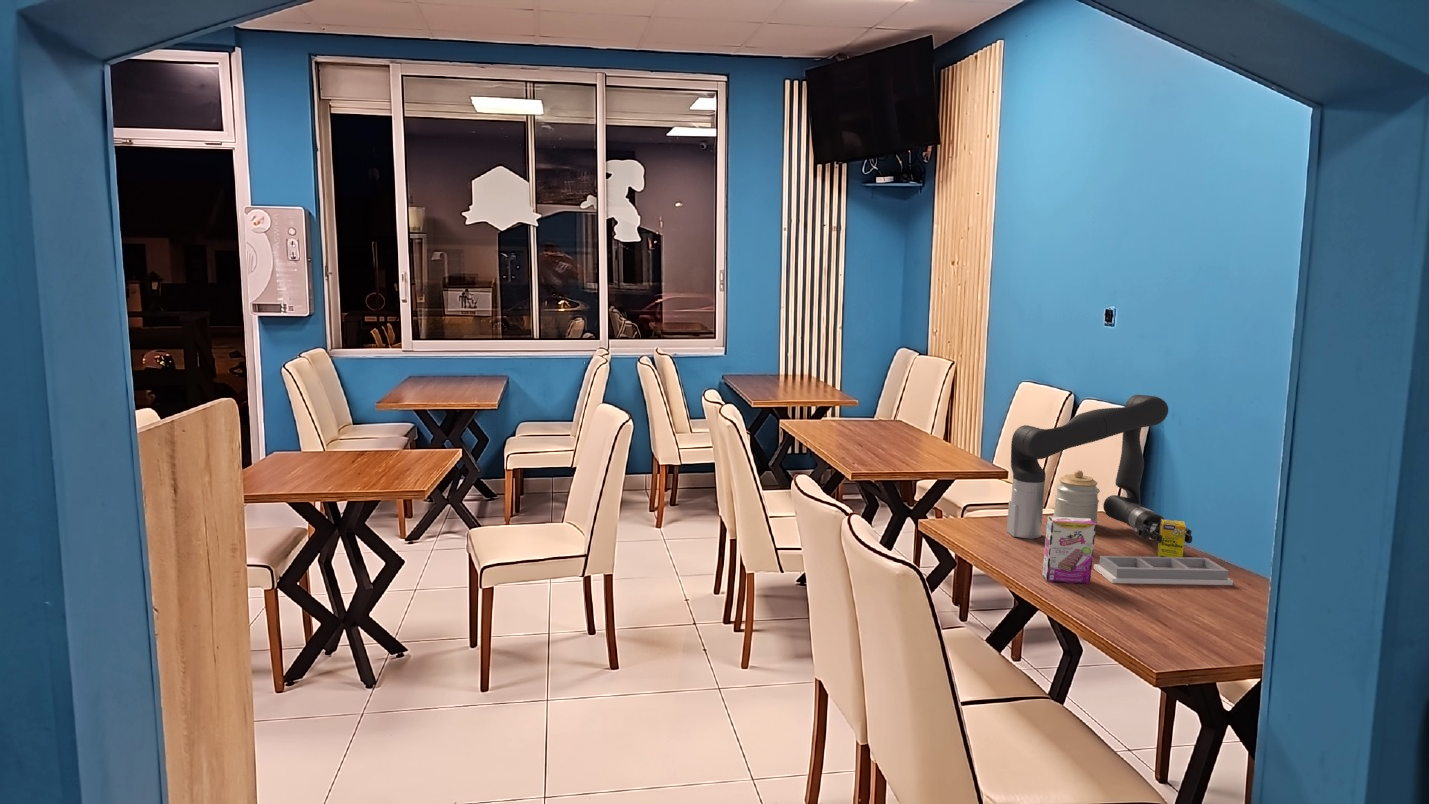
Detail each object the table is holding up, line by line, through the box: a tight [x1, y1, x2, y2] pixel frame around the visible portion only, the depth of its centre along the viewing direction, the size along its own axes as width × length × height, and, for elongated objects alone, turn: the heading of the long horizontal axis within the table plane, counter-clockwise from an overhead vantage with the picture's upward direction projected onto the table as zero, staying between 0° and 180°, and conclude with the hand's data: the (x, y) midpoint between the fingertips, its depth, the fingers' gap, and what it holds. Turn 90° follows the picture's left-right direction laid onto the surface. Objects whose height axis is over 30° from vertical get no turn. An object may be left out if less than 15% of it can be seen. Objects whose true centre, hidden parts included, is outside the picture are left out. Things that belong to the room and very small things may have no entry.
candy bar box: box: [1041, 515, 1097, 584], centre depth 231 cm, size 11×5×16 cm, turn 84°
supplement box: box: [1156, 518, 1187, 557], centre depth 249 cm, size 6×6×11 cm
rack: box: [1093, 555, 1234, 586], centre depth 236 cm, size 31×11×4 cm, turn 90°
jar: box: [1053, 469, 1101, 525], centre depth 282 cm, size 13×13×18 cm
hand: (1175, 539), depth 247 cm, fingers closed on supplement box, 7 cm apart
